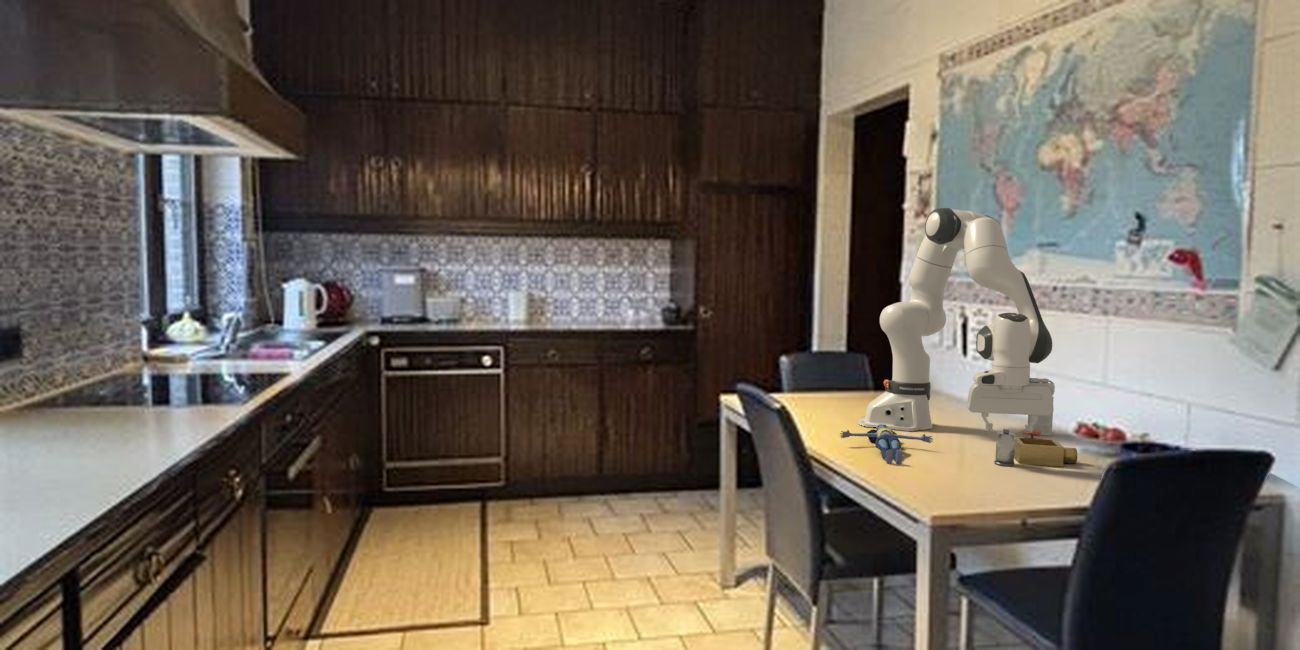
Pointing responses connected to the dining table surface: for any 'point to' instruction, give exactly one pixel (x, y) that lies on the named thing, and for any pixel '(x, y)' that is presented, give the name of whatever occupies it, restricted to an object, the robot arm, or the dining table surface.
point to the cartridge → (1005, 448)
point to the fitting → (1042, 451)
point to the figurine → (887, 442)
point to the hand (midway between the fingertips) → (1008, 431)
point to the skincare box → (1043, 424)
